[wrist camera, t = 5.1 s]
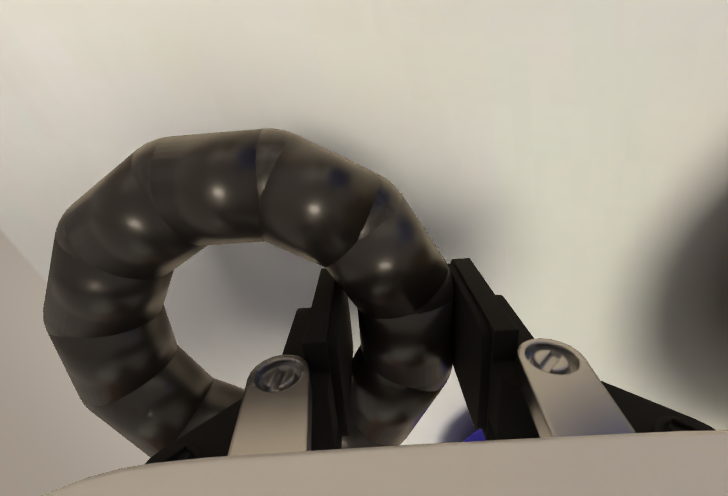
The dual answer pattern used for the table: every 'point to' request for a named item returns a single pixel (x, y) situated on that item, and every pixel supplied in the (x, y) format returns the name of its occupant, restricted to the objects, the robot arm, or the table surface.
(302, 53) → the table surface
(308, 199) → the ring
